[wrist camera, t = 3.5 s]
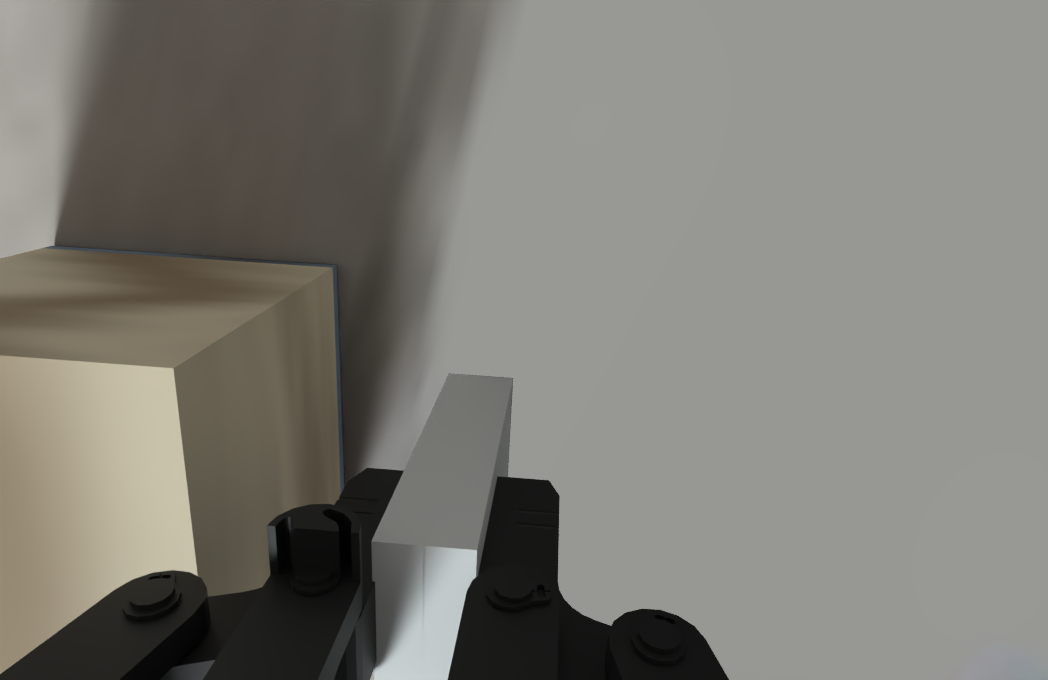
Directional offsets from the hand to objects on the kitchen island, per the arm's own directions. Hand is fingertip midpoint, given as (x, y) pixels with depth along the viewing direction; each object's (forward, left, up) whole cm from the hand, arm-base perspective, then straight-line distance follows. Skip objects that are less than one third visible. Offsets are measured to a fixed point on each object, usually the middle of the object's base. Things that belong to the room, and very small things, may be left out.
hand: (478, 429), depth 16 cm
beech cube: (+7, 0, -1) cm, 7 cm away
